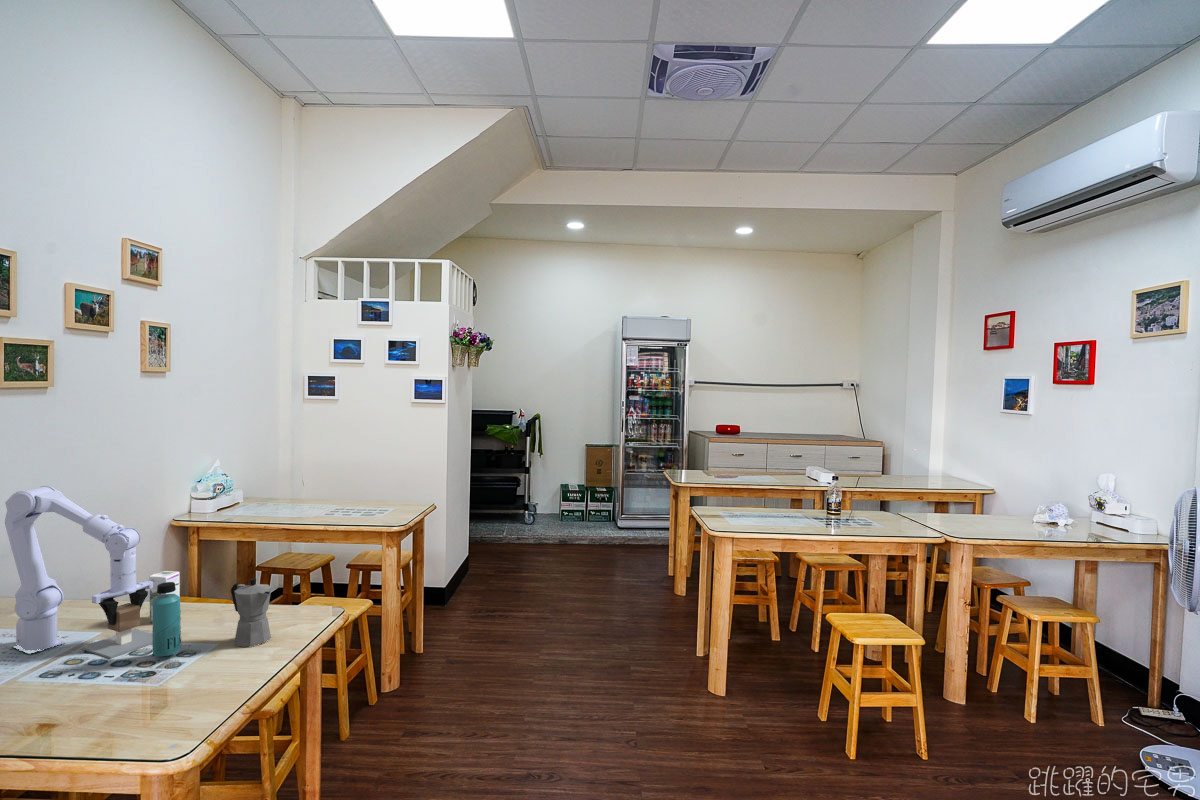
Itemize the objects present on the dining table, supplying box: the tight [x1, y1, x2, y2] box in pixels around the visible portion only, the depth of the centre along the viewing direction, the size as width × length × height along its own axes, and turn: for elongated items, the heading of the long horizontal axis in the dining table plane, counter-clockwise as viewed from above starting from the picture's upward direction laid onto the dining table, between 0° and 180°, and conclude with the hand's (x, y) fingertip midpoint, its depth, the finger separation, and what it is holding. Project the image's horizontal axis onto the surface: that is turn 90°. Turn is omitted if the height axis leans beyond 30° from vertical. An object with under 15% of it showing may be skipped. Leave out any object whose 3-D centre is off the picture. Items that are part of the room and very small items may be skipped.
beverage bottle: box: [151, 582, 182, 657], centre depth 166 cm, size 6×7×20 cm
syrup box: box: [148, 570, 181, 623], centre depth 192 cm, size 6×6×14 cm
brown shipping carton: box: [107, 602, 141, 632], centre depth 174 cm, size 5×5×6 cm
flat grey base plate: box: [79, 628, 153, 660], centre depth 174 cm, size 14×14×6 cm
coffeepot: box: [230, 578, 272, 647], centre depth 178 cm, size 15×9×18 cm, turn 67°
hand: (123, 620), depth 174 cm, fingers closed on brown shipping carton, 5 cm apart
